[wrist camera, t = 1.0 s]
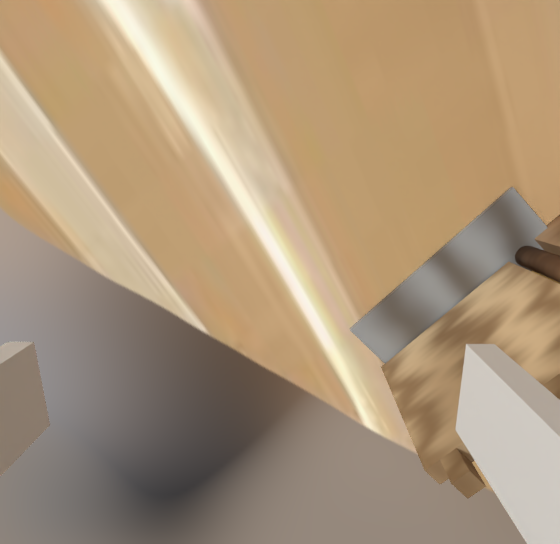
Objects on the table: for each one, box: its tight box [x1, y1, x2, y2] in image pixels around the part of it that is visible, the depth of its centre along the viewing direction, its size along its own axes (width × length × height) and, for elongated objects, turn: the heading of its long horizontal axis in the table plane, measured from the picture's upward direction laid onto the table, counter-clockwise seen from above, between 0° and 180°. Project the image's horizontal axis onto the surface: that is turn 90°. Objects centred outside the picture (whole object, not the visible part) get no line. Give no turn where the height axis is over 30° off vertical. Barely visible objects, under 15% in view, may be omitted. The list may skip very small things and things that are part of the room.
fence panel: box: [381, 262, 560, 498], centre depth 30 cm, size 16×2×16 cm, turn 136°
